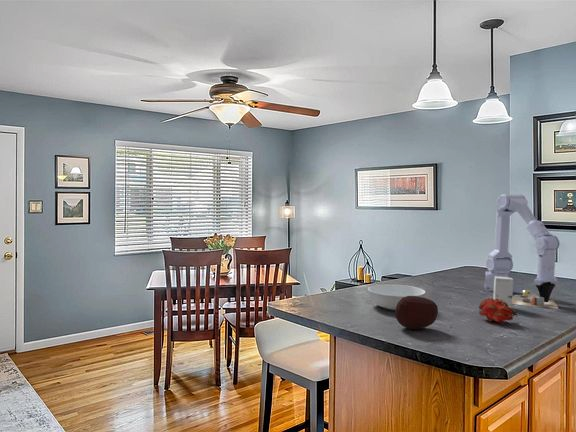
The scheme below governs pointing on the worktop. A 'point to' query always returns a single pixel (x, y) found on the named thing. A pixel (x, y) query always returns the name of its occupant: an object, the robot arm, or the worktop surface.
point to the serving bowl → (392, 294)
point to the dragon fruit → (496, 310)
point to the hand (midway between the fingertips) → (544, 301)
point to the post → (526, 293)
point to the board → (546, 304)
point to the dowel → (532, 300)
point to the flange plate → (538, 300)
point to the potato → (416, 312)
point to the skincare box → (503, 289)
